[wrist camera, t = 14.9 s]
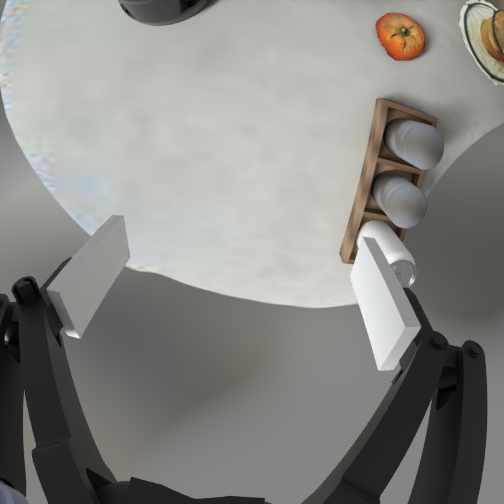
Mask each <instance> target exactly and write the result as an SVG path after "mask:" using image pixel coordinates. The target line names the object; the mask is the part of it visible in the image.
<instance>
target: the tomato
mask: <svg viewBox="0 0 504 504" xmlns="http://www.w3.org/2000/svg"><path fill="white" fill-rule="evenodd" d="M376 30H377V34H378V38H379V40H380V42H381V43H382V46H384V47H385V50H386V51H387V52H388V53H387V54H388V55H389V56H391V57H392V58H393V59H394V60H410V59H413V58H415V57H417V56H418V55H419V54H420V52H423V50H424V47H425V37H424V32H423V30H422V29H421V27H420V25H419V24H418V23H417V22H416V21H414V20H413V19H411V18H409V17H408V16H406V15H403V14H399V13H388V14H386V15H384V16H382V17H381V18H380V19H379V20H378V21H377V23H376Z"/></svg>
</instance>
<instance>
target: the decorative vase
mask: <svg viewBox="0 0 504 504" xmlns="http://www.w3.org/2000/svg"><path fill="white" fill-rule="evenodd" d="M460 17H461V19H460V21H459V26H460V28H461V32H462V35H463V36H464V38H463V40H464V41H465V44H466V48H467V49H468V50H469V52H470V53H471V55H472V56H473V58H474V60H475V62H476V64H477V65H478V66H479V68H480V69H481V70H482V72H484V73H485V74H486V76H487V78H490V79H491V80H492V81H493V83H494V85H498V84H502V85H503V86H504V10H499V11H498V10H497V8H495V7H494V6H493V5H492V4H491V3H487V2H486V1H485V0H481V1H480V2H479V1H478V0H469V2H466V5H463V9H460Z"/></svg>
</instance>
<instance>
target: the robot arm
mask: <svg viewBox="0 0 504 504" xmlns="http://www.w3.org/2000/svg"><path fill="white" fill-rule="evenodd" d="M118 1H119V3H120V5H121V7H122V9H123V11H124V12H125V13H126V14H127V15H128V16H129V17H131V18H132V19H134V20H136V21H138V22H141V23H143V24H147V25H152V26H163V25H170V24H174V23H178V22H181V21H183V20H185V19H188V18H189V17H191V16H193V15H195V14H196V13H198V12H199V11H200V10H202V9H203V8H204V7H205V6H206V5H207V4H208V3H209V2H210V1H211V0H118ZM129 258H130V252H129V247H128V241H127V235H126V228H125V222H124V216H117V215H112V216H111V217H110V218H109V219H108V220H107V221H106V222H105V223H104V224H103V225H102V226H101V227H100V228H99V229H98V230H97V231H96V232H95V233H94V234H93V236H92V237H91V238H90V239H89V240H88V241H87V242H86V243H85V244H84V245H83V246H82V247H81V249H80V250H79V251H78V252H77V253H76V254H75V255H74V257H73V258H71V257H70V258H68V259H67V260H65V261H64V262H62V264H61V265H60V266H59V267H58V268H57V270H55V272H54V273H53V275H51V276H50V278H49V279H48V280H47V281H46V282H45V284H44V285H43V286H42V287H41V289H40V290H39V288H38V285H37V283H36V280H35V278H33V277H30V276H27V277H23V278H21V279H19V280H18V281H17V282H16V283H15V284H14V285H13V287H12V293H13V295H14V297H15V299H16V301H17V302H10V301H9V298H8V296H7V295H5V294H0V504H29V503H28V501H27V499H26V473H25V462H24V447H23V397H24V390H25V396H26V402H27V407H28V412H29V417H30V421H31V426H32V430H33V434H34V438H35V442H36V448H35V449H33V450H32V458H33V462H34V465H35V468H36V471H37V474H38V477H39V480H40V483H41V486H42V488H43V491H44V494H45V496H46V499H47V501H48V504H271V503H268V502H265V498H254V497H253V498H252V497H238V496H226V497H216V498H204V499H194V498H190V497H188V496H186V495H183V494H181V493H179V492H176V491H174V490H172V489H170V488H167V487H165V486H163V485H161V484H156V483H153V482H149V481H145V480H141V479H138V478H134V477H131V479H130V481H119V482H117V480H116V479H115V477H114V475H113V474H112V472H111V471H110V469H109V468H108V467H107V466H106V464H105V463H104V461H103V459H102V457H101V455H100V453H99V451H98V449H97V446H96V444H95V441H94V439H93V437H92V434H91V432H90V429H89V427H88V424H87V422H86V419H85V416H84V413H83V410H82V408H81V405H80V402H79V399H78V396H77V392H76V389H75V386H74V383H73V379H72V376H71V372H70V368H69V364H68V361H67V357H66V352H65V348H64V344H63V339H62V336H61V334H60V330H61V329H62V327H64V329H65V331H66V333H67V335H69V336H72V337H76V338H81V336H82V334H83V332H84V331H85V329H86V327H87V325H88V324H89V322H90V320H91V318H92V317H93V315H94V313H95V312H96V310H97V308H98V307H99V305H100V303H101V302H102V300H103V298H104V297H105V295H106V294H107V292H108V290H109V289H110V287H111V286H112V284H113V283H114V281H115V279H116V278H117V276H118V275H119V273H120V272H121V270H122V269H123V267H124V266H125V264H126V263H127V261H128V260H129ZM350 279H351V282H352V285H353V288H354V291H355V294H356V297H357V300H358V303H359V306H360V309H361V312H362V315H363V319H364V322H365V325H366V329H367V332H368V335H369V338H370V342H371V346H372V349H373V353H374V356H375V360H376V363H377V367H378V371H380V370H393V369H394V368H395V366H396V365H397V364H398V362H400V365H401V370H400V371H399V372H398V374H397V375H396V376H395V378H394V379H393V380H392V385H391V387H390V388H389V390H388V392H387V394H386V395H385V397H384V399H383V400H382V402H381V404H380V405H379V407H378V408H377V410H376V412H375V413H374V415H373V417H372V418H371V419H370V421H369V422H368V424H367V425H366V427H365V428H364V430H363V431H362V433H361V434H360V436H359V437H358V438H357V440H356V441H355V443H354V444H353V446H352V447H351V448H350V449H349V451H348V452H347V453H346V455H345V456H344V457H343V459H342V460H341V461H340V463H339V464H338V465H337V466H336V468H335V469H334V470H333V471H332V472H331V473H330V475H329V476H328V477H327V478H326V480H325V481H324V482H323V483H322V484H321V486H319V488H318V489H317V490H316V491H315V492H314V493H313V494H311V495H310V496H309V497H308V498H307V499H306V500H305V501H304V502H303V503H302V504H380V500H379V498H380V495H381V494H382V492H383V491H384V489H385V488H386V486H387V485H388V483H389V481H390V480H391V478H392V477H393V475H394V473H395V471H396V470H397V468H398V466H399V465H400V463H401V461H402V459H403V458H404V456H405V454H406V452H407V450H408V448H409V447H410V444H411V443H412V441H413V439H414V437H415V435H416V433H417V431H418V428H419V426H420V424H421V422H422V420H423V418H424V416H425V413H426V411H427V409H428V406H429V404H430V401H431V399H432V403H431V410H430V416H429V423H428V428H427V433H426V438H425V443H424V448H423V452H422V457H421V460H420V465H419V468H418V472H417V475H416V479H415V482H414V486H413V489H412V492H411V495H410V498H409V501H408V504H477V499H478V495H479V490H480V485H481V479H482V472H483V466H484V457H485V448H486V434H487V379H486V378H487V377H486V364H485V354H484V351H483V349H482V347H481V346H480V345H479V344H478V343H476V342H474V341H471V340H468V341H465V343H464V344H463V345H462V346H461V347H457V346H453V345H449V343H448V341H447V339H446V338H445V337H444V336H443V335H442V334H440V333H439V332H436V331H433V329H432V327H431V325H430V323H429V321H428V319H427V317H426V315H425V313H424V311H423V310H422V307H421V305H420V304H419V301H418V299H417V297H416V295H415V294H414V293H413V292H412V291H411V290H410V289H409V288H402V286H401V284H400V283H399V281H398V279H397V277H396V275H395V273H394V271H393V269H392V268H391V266H390V264H389V262H388V260H387V259H386V257H385V255H384V253H383V251H382V250H381V248H380V246H379V245H378V243H377V241H376V239H375V238H371V237H362V239H361V242H360V246H359V249H358V253H357V256H356V259H355V262H354V265H353V269H352V272H351V275H350ZM4 339H6V342H5V341H4Z"/></svg>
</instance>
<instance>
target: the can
mask: <svg viewBox="0 0 504 504" xmlns="http://www.w3.org/2000/svg"><path fill="white" fill-rule="evenodd" d="M362 237H371V238H375V239H376V241H377V243H378V245H379V246H380V248H381V250H382V251H383V253H384V255H385V257H386V259H387V260H388V262H389V264H390V266H391V268H392V269H393V271H394V273H395V275H396V277H397V279H398V281H399V283H400V284H401V286H402V288H409V287H410V286H411V285H412V284H413V282H414V280H415V278H416V274H417V271H416V267H415V263H414V259H413V257H412V256H411V254H410V253H409V251H408V250H407V249H406V247H405V246H404V245H403V243H402V242H401V241H400V239H399V238H398V237H397V235H396V234H395V233H394V232H393V230H392V229H391V228H390V226H389V225H388V224H387V223H386V222H384V221H382V220H371V221H369V222H366V223H365V224H364V225H362V226H361V228H360V229H359V231H358V233H357V236H356V243H357V246H358V248H359V246H360V242H361V239H362Z"/></svg>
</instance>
